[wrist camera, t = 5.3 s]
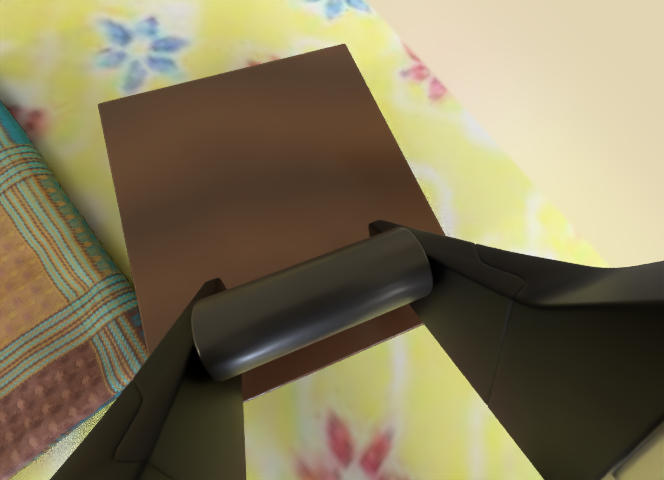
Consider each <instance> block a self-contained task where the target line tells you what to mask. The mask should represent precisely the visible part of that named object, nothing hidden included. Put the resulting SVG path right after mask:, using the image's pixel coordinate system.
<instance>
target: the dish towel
mask: <svg viewBox="0 0 664 480" xmlns="http://www.w3.org/2000/svg"><path fill="white" fill-rule="evenodd" d="M148 357H149V356H148V351H147V346H146V341H145V336H144V331H143V326H142V321H141V316H140V311H139V306H138V301H137V296H136V292H135V290H134V289H133V287H132V286H131V284H130V283H129V282H128V280H127V279H126V278H125V276H124V275H123V273H122V272H121V270H120V269H119V268H118V267H117V266H116V265H115V264H114V263H113V261H112V259H111V257H110V256H109V255H108V254H107V253H106V252H105V250H104V249H103V247H102V245H101V244H100V242H99V241H98V240H97V238H96V237H95V236H94V233H93V231H92V230H91V229H90V228H89V226H88V225H87V223H86V222H85V220H84V219H83V217H82V216H81V215H80V213H79V212H78V211H77V209H76V208H75V206H74V205H73V204H72V203H71V202H70V200H69V199H68V197H67V195H66V194H65V192H64V191H63V190H62V189H61V187H60V186H59V183H58V181H57V180H56V178H55V177H54V175H53V174H52V172H51V171H50V169H49V168H48V166H47V165H46V163H45V161H44V160H43V159H42V157H41V156H40V154H39V153H38V152H37V150H36V148H35V147H34V146H33V144H32V143H31V141H30V140H29V139H28V137H27V134H26V133H25V132H24V130H23V129H22V128H21V126H20V125H19V124H18V123H17V121H16V120H15V119H14V117H13V116H12V115H11V114H10V112H9V111H8V109H7V108H6V107H5V106H4V105H3V103H2V101H1V100H0V480H9V479H11V478H12V477H13V476H14V475H16V474H17V473H18V472H19V471H21V470H22V469H23V468H24V467H26V466H27V465H29V464H30V463H31V462H33V461H34V460H36V459H37V458H38V457H40V456H41V455H42V454H44V453H45V452H46V451H48V450H49V449H50V448H51V447H53V446H54V445H55V444H57V443H58V442H59V441H60V440H62V439H63V438H64V437H66V436H67V435H68V434H70V433H71V432H72V431H73V430H75V429H76V428H77V427H78V426H79V425H81V424H82V423H83V422H85V421H86V420H88V419H89V418H90V417H92V416H93V415H95V414H96V413H97V412H98V411H100V410H101V409H102V408H104V407H105V406H107V405H108V404H110V403H111V402H113V401H114V400H115V399H116V398H117V397H118V396H119V395H120V394H121V393H122V391H123V390H124V389H125V388H126V386H127V385H128V384H129V382H130V381H133V377H134V376H135V374H136V373H137V372H138V370H139V369H140V368H141V366H142V365H143V364H144V362H145V361H146V360H147V359H148Z"/></svg>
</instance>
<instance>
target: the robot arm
mask: <svg viewBox="0 0 664 480" xmlns="http://www.w3.org/2000/svg"><path fill="white" fill-rule="evenodd" d="M396 227H403V228H406V229H407V230H409V231H410V232H411V233H412V234H413V235H414V236H415V237H416V239H417V240H418V241H419V243H420V244H421V246H422V248H423V250H424V251H425V254H426V256H427V258H428V261H429V263H430V267H431V270H432V275H433V288H432V291H431V292H430V294H429V295H427V296H425V297H423V298H420V299H418V300H415V301H413V302H411V303H408V304H409V305H410V306H411V308H412V309H413V310H414V312H415V313H416V314H417V316H418V317H419V318H420V319H421V321H422V322H423V323H424V325H425V326H426V327H427V328H428V330H429V331H430V332H431V334H432V335H433V336H434V338H435V339H436V340H437V341H438V343H439V344H440V345H441V347H442V348H443V349H444V350H445V352H446V353H447V354H448V356H449V357H450V358H451V359H452V361H453V362H454V363H455V365H456V366H457V367H458V369H459V370H460V371H461V372H462V374H463V375H464V376H465V378H466V379H467V380H468V381H469V383H470V384H471V385H472V387H473V388H474V389H475V391H476V392H477V393H478V394H479V396H480V397H481V398H482V400H483V401H484V402H485V403H486V405H488V408H489V409H490V410H491V411H492V413H493V414H494V415H495V417H496V418H497V419H498V421H499V422H500V423H501V424H502V426H503V427H504V428H505V430H506V431H507V432H508V433H509V435H510V436H511V437H512V439H513V440H514V441H515V443H516V444H517V445H518V446H519V448H520V449H521V450H522V452H523V453H524V454H525V455H526V457H527V458H528V459H529V461H530V462H531V463H532V465H533V466H534V467H535V468H536V470H537V471H538V472H539V474H540V475H541V476H542V477H543V479H544V480H664V261H660V262H655V263H649V264H643V265H638V266H631V267H623V268H599V267H591V266H584V265H579V264H573V263H568V262H562V261H557V260H551V259H546V258H540V257H535V256H530V255H525V254H519V253H514V252H509V251H505V250H501V249H496V248H492V247H488V246H484V245H480V244H476V245H475V244H474V243H472V242H468V241H464V240H460V239H456V238H452V237H448V236H444V235H440V234H436V233H432V232H428V231H424V230H420V229H415V228H411V227H407V226H403V225H399V224H395V223H391V222H387V221H383V220H377V221H374V222H371V223H369V225H368V229H369V236H370V237H372V236H374V235H377V234H380V233H383V232H385V231H388V230H391V229H393V228H396ZM225 290H227V289H226V287H225V285H224V283H223V282H222V280H221V279H220V278H215V279H212V280H209V281H206V282H205V283H204V284H203V286H202V287H201V288H200V290H199V291H198V292H197V294H196V295H195V296H194V298H193V299H192V300H191V302H190V303H189V304H188V306H187V307H186V308H185V310H184V311H183V312H182V313H181V315H180V316H179V317H178V319H177V320H176V321H175V323H174V324H173V325H172V327H171V328H170V329H169V331H168V332H167V333H166V335H165V336H164V337H163V339H162V340H161V341H160V343H159V344H158V345H157V347H156V348H155V349H154V351H153V352H152V353H151V355H150V356H149V357H148V359H147V360H146V361H145V362H144V364H143V365H142V366H141V368H140V369H139V370H138V372H137V373H136V374H135V376H134V377H133V381H130V382H129V384H128V385H127V386H126V388H125V389H124V390H123V391H122V393H121V394H120V395H119V397H118V398H117V399H116V401H115V402H114V403H113V404H112V406H111V407H110V408H109V410H108V411H107V412H106V413H105V415H104V416H103V417H102V418H101V420H100V421H99V422H98V423H97V425H96V426H95V427H94V428H93V429H92V431H91V432H90V433H89V434H88V435H87V437H86V438H85V439H84V440H83V441H82V443H81V444H80V445H79V446H78V447H77V448H76V450H75V451H74V452H73V453H72V454H71V455H70V457H69V458H68V459H67V460H66V461H65V463H64V464H63V465H62V466H61V467H60V468H59V470H58V471H57V472H56V473H55V474H54V475H53V477H52V478H51V479H50V480H246V460H245V437H244V414H243V392H242V373H241V374H239V375H236V376H234V377H231V378H229V379H227V380H224V381H216V380H214V379H213V378H212V377H211V376H210V375H209V374H208V373H207V371H206V370H205V368H204V366H203V365H202V362H201V360H200V358H199V356H198V353H197V350H196V347H195V343H194V339H193V333H192V325H191V316H192V309H193V306H194V304H195V303H196V302H197V301H198V300H200V299H203V298H206V297H209V296H211V295H214V294H217V293H219V292H222V291H225Z"/></svg>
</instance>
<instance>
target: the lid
mask: <svg viewBox="0 0 664 480" xmlns="http://www.w3.org/2000/svg"><path fill="white" fill-rule="evenodd" d="M98 108H99V113H100V118H101V123H102V128H103V133H104V138H105V143H106V148H107V153H108V158H109V163H110V167H111V172H112V177H113V182H114V187H115V192H116V197H117V202H118V207H119V212H120V217H121V222H122V227H123V232H124V237H125V242H126V247H127V252H128V257H129V262H130V267H131V272H132V276H133V281H134V286H135V291H136V296H137V301H138V306H139V311H140V316H141V321H142V326H143V331H144V336H145V341H146V346H147V351H148V356H150V355H151V353H152V352H153V351H154V349H155V348H156V347H157V345H158V344H159V343H160V341H161V340H162V339H163V337H164V336H165V335H166V333H167V332H168V331H169V329H170V328H171V327H172V325H173V324H174V323H175V321H176V320H177V319H178V317H179V316H180V315H181V313H182V312H183V311H184V310H185V308H186V307H187V306H188V304H189V303H190V302H191V300H192V299H193V298H194V296H195V295H196V294H197V292H198V291H199V290H200V288H201V287H202V286H203V284H204V283H205V282H206V281H209V280H212V279H215V278H220V279H221V280H222V282H223V283H224V285H225V287H226V289H227V290H225V291H222V292H219V293H217V294H214V295H211V296H209V297H206V298H203V299H200V300H198V301H197V302H196V303H195V304H194V306H193V309H192V316H191V325H192V333H193V339H194V343H195V347H196V350H197V353H198V356H199V358H200V360H201V362H202V365H203V366H204V368H205V370H206V371H207V373H208V374H209V375H210V376H211V377H212V378H213V379H214V380H216V381H224V380H227V379H229V378H231V377H234V376H236V375H239V374H241V373H242V392H243V403H245V402H247V401H249V400H252V399H254V398H256V397H259V396H261V395H263V394H265V393H268V392H270V391H272V390H275V389H277V388H279V387H282V386H284V385H286V384H288V383H291V382H293V381H295V380H298V379H300V378H302V377H304V376H307V375H309V374H311V373H314V372H316V371H318V370H321V369H323V368H325V367H327V366H330V365H332V364H334V363H337V362H339V361H341V360H343V359H346V358H348V357H350V356H353V355H355V354H357V353H359V352H362V351H364V350H366V349H369V348H371V347H373V346H376V345H378V344H380V343H382V342H385V341H387V340H389V339H392V338H394V337H396V336H398V335H401V334H403V333H405V332H408V331H410V330H412V329H414V328H417V327H419V326H421V325H424V323H423V322H422V321H421V319H420V318H419V317H418V316H417V314H416V313H415V312H414V310H413V309H412V308H411V306H410V305H409V304H408V303H411V302H413V301H415V300H418V299H420V298H423V297H425V296H427V295H429V294H430V292H431V291H432V288H433V275H432V270H431V267H430V263H429V261H428V258H427V256H426V254H425V251H424V250H423V248H422V246H421V244H420V243H419V241H418V240H417V239H416V237H415V236H414V235H413V234H412V233H411V232H410V231H409V230H407V229H406V228H403V227H396V228H393V229H391V230H388V231H385V232H383V233H380V234H377V235H374V236H372V237H370V236H369V229H368V225H369V223H371V222H374V221H377V220H383V221H387V222H391V223H395V224H399V225H403V226H407V227H411V228H415V229H420V230H424V231H428V232H432V233H436V234H440V235H444V236H445V234H444V232H443V230H442V228H441V226H440V224H439V222H438V220H437V218H436V217H435V215H434V213H433V211H432V209H431V207H430V205H429V203H428V201H427V199H426V197H425V195H424V194H423V192H422V190H421V188H420V186H419V184H418V182H417V180H416V178H415V176H414V174H413V172H412V171H411V169H410V167H409V165H408V163H407V161H406V159H405V157H404V155H403V153H402V151H401V150H400V148H399V146H398V144H397V142H396V140H395V138H394V136H393V134H392V132H391V130H390V128H389V127H388V125H387V123H386V121H385V119H384V117H383V115H382V113H381V111H380V109H379V107H378V105H377V104H376V102H375V100H374V98H373V96H372V94H371V92H370V90H369V88H368V86H367V84H366V83H365V81H364V79H363V77H362V75H361V73H360V71H359V69H358V67H357V65H356V63H355V61H354V60H353V58H352V56H351V54H350V52H349V50H348V48H347V46H346V44H341V45H337V46H333V47H329V48H325V49H320V50H316V51H312V52H308V53H304V54H300V55H296V56H292V57H288V58H284V59H279V60H275V61H271V62H267V63H263V64H259V65H255V66H251V67H247V68H243V69H238V70H234V71H230V72H226V73H222V74H218V75H214V76H210V77H206V78H202V79H198V80H193V81H189V82H185V83H181V84H177V85H173V86H169V87H165V88H161V89H157V90H152V91H148V92H144V93H140V94H136V95H132V96H128V97H124V98H120V99H116V100H111V101H107V102H103V103H99V104H98Z"/></svg>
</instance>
